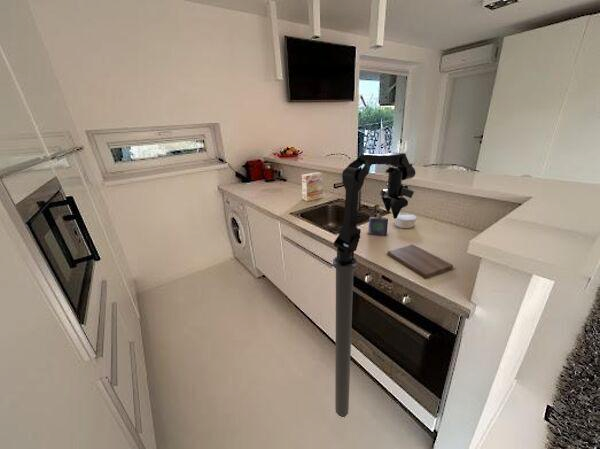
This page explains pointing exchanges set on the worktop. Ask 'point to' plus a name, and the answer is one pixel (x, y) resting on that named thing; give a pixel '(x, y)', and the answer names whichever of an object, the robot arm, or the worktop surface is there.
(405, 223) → the ramekin
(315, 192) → the coffeecake box
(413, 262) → the serving board
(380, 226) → the flask
